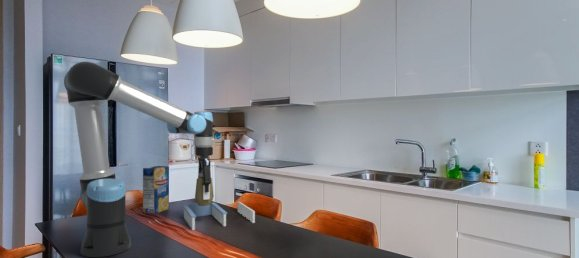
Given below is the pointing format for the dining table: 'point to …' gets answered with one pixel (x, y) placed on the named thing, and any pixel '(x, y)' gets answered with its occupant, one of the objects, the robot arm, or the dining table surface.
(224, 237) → the dining table surface
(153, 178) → the blue food box
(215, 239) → the dining table surface
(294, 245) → the dining table surface
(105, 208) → the robot arm
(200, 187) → the squeeze bottle
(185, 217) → the divider rack
